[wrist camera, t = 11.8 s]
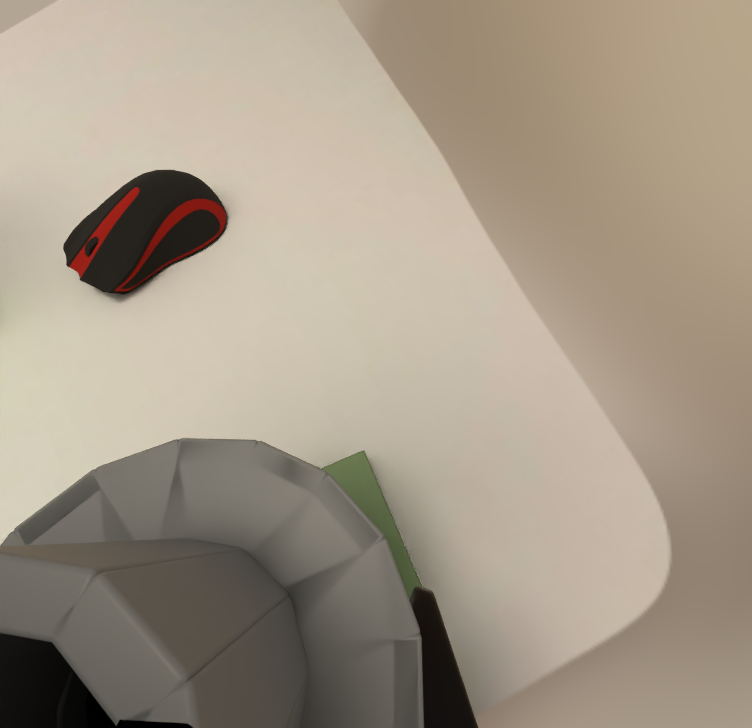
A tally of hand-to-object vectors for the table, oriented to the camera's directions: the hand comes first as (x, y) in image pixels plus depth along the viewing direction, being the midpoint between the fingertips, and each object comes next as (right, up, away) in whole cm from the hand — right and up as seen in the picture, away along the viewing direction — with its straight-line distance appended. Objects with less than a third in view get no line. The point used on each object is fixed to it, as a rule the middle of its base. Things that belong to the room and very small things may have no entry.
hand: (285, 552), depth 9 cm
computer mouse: (-14, +13, +19) cm, 27 cm away
